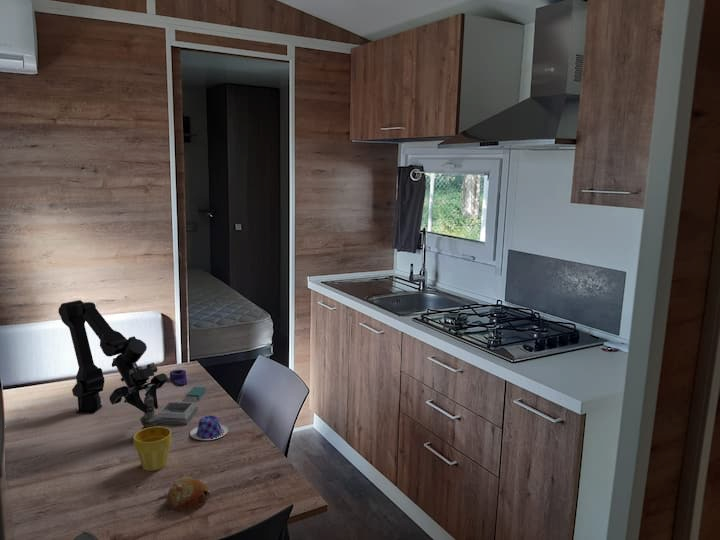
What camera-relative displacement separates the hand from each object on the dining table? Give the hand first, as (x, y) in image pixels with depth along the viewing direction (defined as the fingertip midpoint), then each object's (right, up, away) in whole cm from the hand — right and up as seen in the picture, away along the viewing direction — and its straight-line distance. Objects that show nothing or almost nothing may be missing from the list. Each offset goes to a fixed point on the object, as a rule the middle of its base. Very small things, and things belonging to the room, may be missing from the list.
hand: (151, 410), depth 186 cm
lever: (-6, -1, +50) cm, 50 cm away
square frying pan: (+4, -5, +24) cm, 25 cm away
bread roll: (+22, -15, -35) cm, 44 cm away
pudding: (+17, -9, +4) cm, 20 cm away
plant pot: (+7, -12, -17) cm, 22 cm away
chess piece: (-1, -7, +2) cm, 7 cm away
